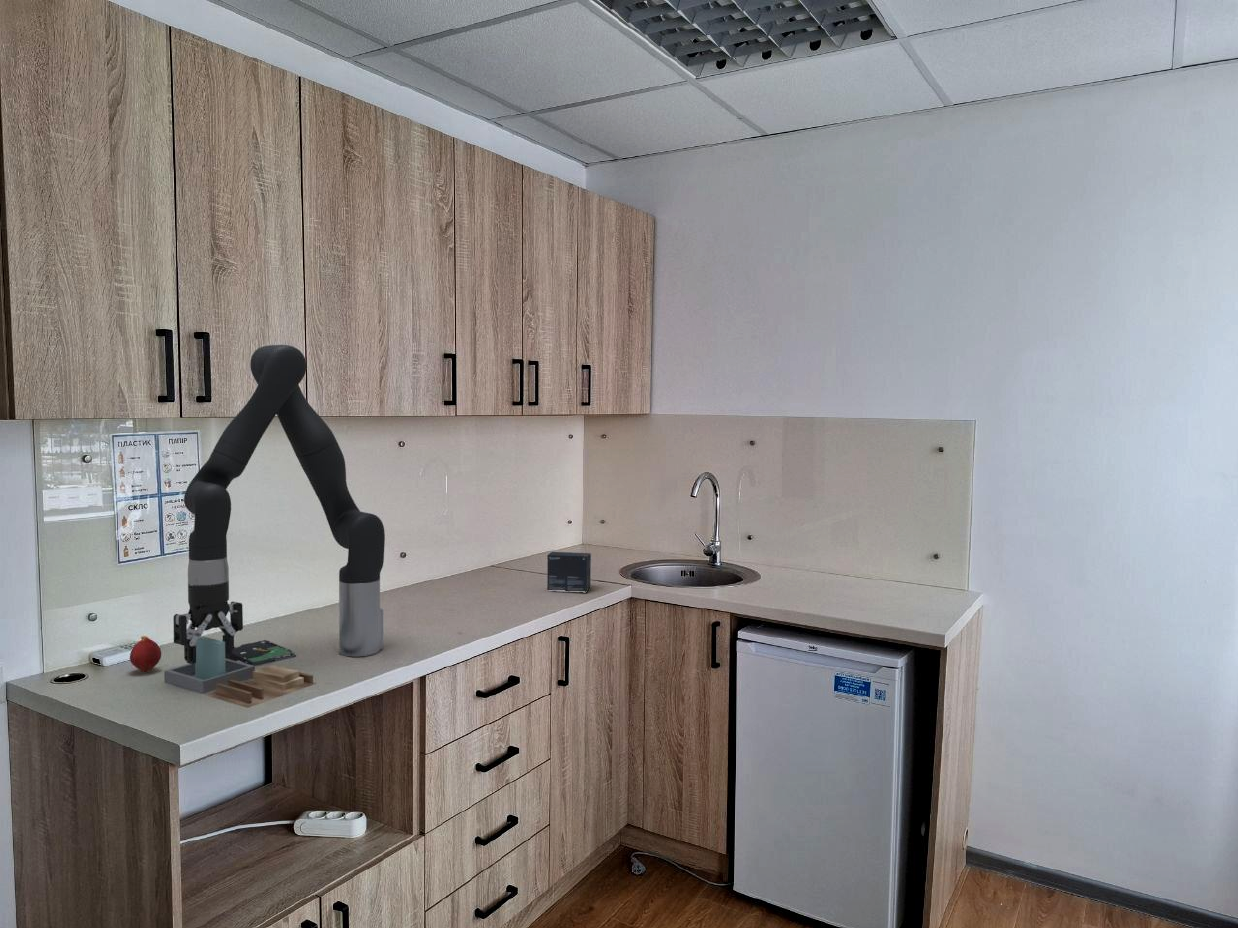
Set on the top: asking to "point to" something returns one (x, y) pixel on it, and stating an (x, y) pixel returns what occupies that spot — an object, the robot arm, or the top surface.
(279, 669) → the offcut upper
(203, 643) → the teal rectangular slab
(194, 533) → the robot arm
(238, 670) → the tray
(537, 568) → the top surface
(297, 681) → the offcut lower
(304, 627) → the top surface
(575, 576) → the small box
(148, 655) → the onion
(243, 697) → the rack
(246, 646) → the disk drive
